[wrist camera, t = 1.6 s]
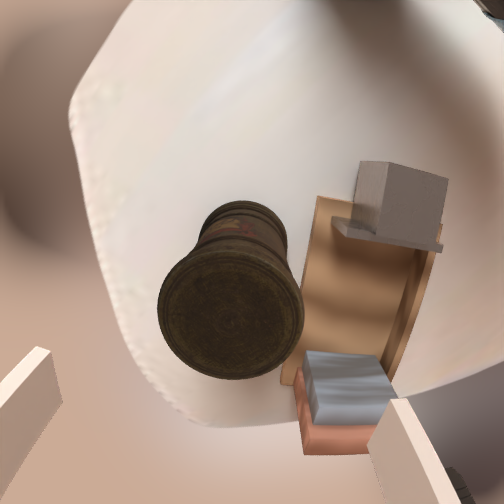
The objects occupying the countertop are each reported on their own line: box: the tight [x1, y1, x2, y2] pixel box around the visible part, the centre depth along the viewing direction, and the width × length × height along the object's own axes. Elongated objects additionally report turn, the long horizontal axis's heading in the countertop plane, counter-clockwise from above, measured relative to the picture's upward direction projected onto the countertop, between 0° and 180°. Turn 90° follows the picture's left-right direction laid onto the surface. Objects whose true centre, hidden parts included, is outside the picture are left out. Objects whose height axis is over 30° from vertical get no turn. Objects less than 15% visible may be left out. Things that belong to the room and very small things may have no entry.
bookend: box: [331, 161, 448, 253], centre depth 28 cm, size 7×10×8 cm
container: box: [157, 201, 305, 380], centre depth 26 cm, size 9×9×18 cm
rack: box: [280, 196, 443, 455], centre depth 30 cm, size 23×13×14 cm, turn 172°
